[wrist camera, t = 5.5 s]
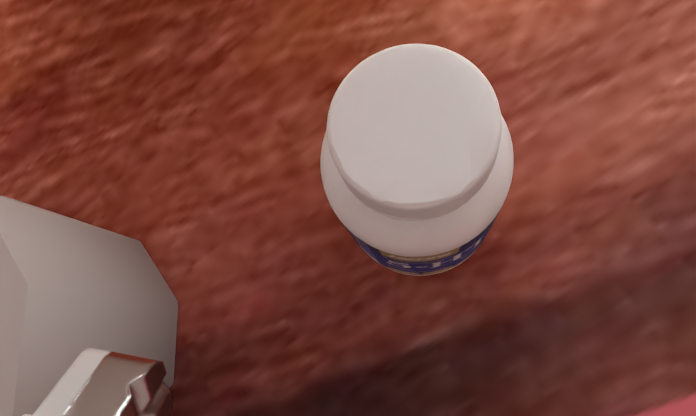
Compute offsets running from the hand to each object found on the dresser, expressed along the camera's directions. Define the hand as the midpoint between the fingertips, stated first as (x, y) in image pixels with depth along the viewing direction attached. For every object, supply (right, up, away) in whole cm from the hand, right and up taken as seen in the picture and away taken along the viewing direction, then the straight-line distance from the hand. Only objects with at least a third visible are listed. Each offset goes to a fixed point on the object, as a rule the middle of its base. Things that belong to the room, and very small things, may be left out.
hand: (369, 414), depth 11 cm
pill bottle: (+2, +4, +11) cm, 12 cm away
